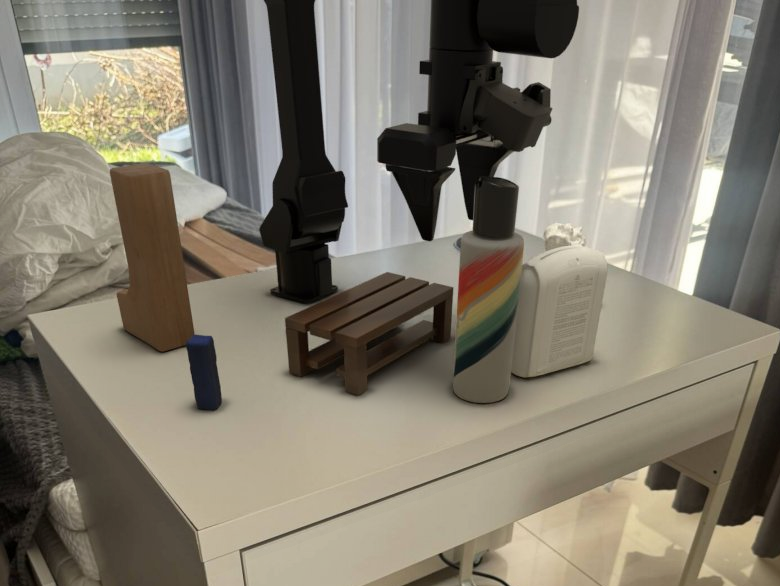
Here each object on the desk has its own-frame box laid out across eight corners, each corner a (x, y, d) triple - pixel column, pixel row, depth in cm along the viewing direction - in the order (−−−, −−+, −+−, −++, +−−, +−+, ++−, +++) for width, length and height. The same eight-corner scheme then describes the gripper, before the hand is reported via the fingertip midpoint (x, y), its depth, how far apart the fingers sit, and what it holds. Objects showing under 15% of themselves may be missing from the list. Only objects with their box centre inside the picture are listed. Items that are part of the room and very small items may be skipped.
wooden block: (122, 329, 90) (86, 160, 79) (157, 320, 92) (127, 154, 81) (161, 353, 84) (128, 175, 74) (197, 343, 87) (171, 169, 76)
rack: (288, 373, 81) (284, 317, 77) (386, 321, 93) (387, 271, 89) (357, 396, 77) (356, 338, 73) (450, 338, 89) (453, 287, 85)
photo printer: (570, 348, 87) (588, 235, 80) (598, 362, 84) (618, 245, 77) (500, 368, 83) (511, 250, 75) (526, 383, 80) (540, 262, 72)
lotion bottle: (449, 379, 80) (460, 170, 68) (503, 378, 81) (523, 170, 69) (456, 405, 76) (469, 185, 64) (513, 403, 76) (537, 185, 64)
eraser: (224, 401, 75) (214, 334, 71) (215, 411, 74) (205, 343, 70) (203, 399, 76) (193, 332, 72) (194, 409, 74) (182, 341, 70)
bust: (586, 315, 101) (554, 234, 100) (632, 292, 95) (598, 205, 94) (527, 338, 95) (492, 251, 94) (572, 315, 89) (534, 222, 87)
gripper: (492, 64, 59) (476, 269, 69) (585, 47, 72) (561, 223, 81) (373, 53, 64) (374, 246, 73) (480, 39, 76) (469, 206, 86)
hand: (451, 229), depth 78 cm, fingers open, 9 cm apart
